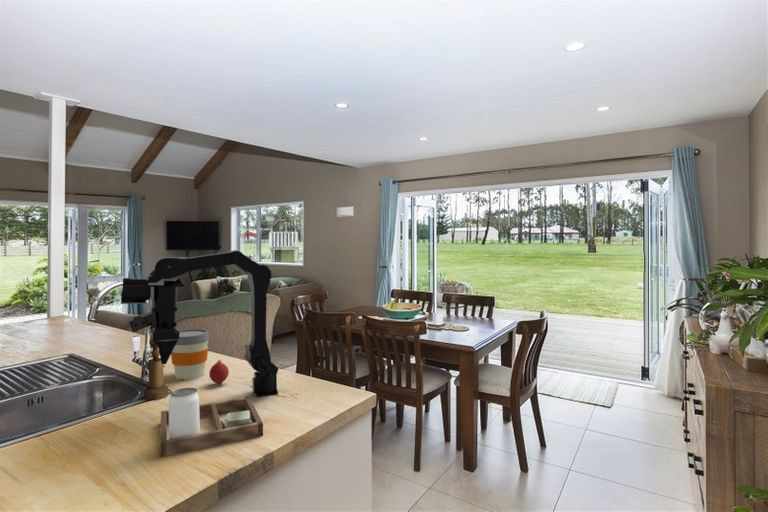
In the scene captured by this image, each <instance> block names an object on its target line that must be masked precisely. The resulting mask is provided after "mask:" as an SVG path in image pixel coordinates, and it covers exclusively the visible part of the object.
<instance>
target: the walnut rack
mask: <svg viewBox="0 0 768 512" xmlns="http://www.w3.org/2000/svg"><path fill="white" fill-rule="evenodd" d="M248 410H250V420H251V421H252V423H250V424H245V425H240V426H235V427H230V428H225V429H222V425H221V419H220V416H219V415H222V414H228V413H233V412H241V411H248ZM199 417H200V419H202V418H207V417H211V420H212V424H213V427H214V430H210V431H206V432H205V431H204V432H200V433H199V434H194V435H189V436H184V437H179V438H174V439H169V438H168V435H167V434H168V433H167V431H168V429H167V428H168V427H167V425H169V409H168V410H162V411H160V438H159V441H160V442H159V443H160V444H159V447H160V448H159V449H160V451H159V453H160V457H161V458H162V457H167V456H172V455H176V454H180V453H185V452H190V451H191V452H192V451H195V450H201V449H205V448H209V447H214V446H219V445H224V444H229V443H233V442H238V441H241V440H242V441H243V440H248V439H252V438H256V437H261V436H263V435H264V423H263V421H262V420H263V419H261V417H260V414H259V413H258V411H257V409H256V406H255V405H254V403H253V401H252V399H251V397H250V396H246V397H241V398H240V397H238V398H233V399H228V400H221V401H217V402H210V403H204V404H199Z"/></svg>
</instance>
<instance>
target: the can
mask: <svg viewBox="0 0 768 512" xmlns="http://www.w3.org/2000/svg"><path fill="white" fill-rule="evenodd" d="M197 391H198V389H197V388H195V387H180V388H177V389H173V391H171V392H170V396H169V399H168V410H169V423H168V440H169V439H174V438H179V437H184V436H189V435H194V434H199V433H201V432H200V431H201V429H200V427H201V425H200V424H201V423H200V421H201V418H200V417H199V405H200V395H199V393H198V392H197Z"/></svg>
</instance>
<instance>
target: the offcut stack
mask: <svg viewBox="0 0 768 512" xmlns="http://www.w3.org/2000/svg"><path fill="white" fill-rule="evenodd" d="M220 422H221V426H222V429H225V428H230V427H235V426H240V425H245V424H250V423H252V421H251V420H250V410H248V411H246V410H240V411H234V412H229V413H227V417H225V418H221V419H220Z"/></svg>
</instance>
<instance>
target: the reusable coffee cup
mask: <svg viewBox="0 0 768 512" xmlns="http://www.w3.org/2000/svg"><path fill="white" fill-rule="evenodd" d="M209 340H210V337H209V331H208V330H207V329H202V328H190V329H189V328H188V329H181V330H180V329H179V339H178V342H177V343H176V345H175V347H174V349H173V351H172V353H171V355H170V359H171V364H172V366H173V369H174V374H175V378H176V379H177V380H179V379H184V380H183V381H186V380H187V379H190V380H195V379H198V377H199V378H201V377H203V376H204V375H205V370H206V362H207V360H208V354H209V346H208V342H209ZM194 378H195V379H194Z"/></svg>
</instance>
